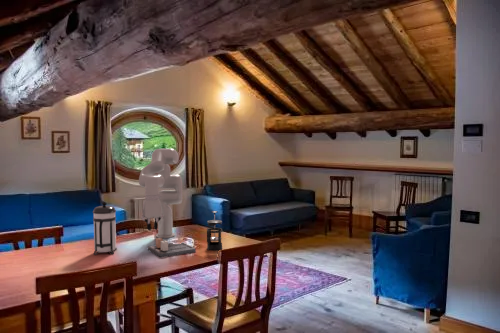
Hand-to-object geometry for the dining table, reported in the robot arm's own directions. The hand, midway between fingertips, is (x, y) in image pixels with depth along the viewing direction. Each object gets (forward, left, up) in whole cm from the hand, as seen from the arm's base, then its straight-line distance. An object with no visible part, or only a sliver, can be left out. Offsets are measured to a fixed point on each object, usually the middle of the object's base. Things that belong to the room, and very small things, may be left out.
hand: (152, 229), depth 243 cm
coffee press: (-21, -21, -15) cm, 33 cm away
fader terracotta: (-8, +7, -13) cm, 17 cm away
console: (-4, +13, -15) cm, 20 cm away
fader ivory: (0, +7, -13) cm, 15 cm away
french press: (+5, +37, -15) cm, 40 cm away
